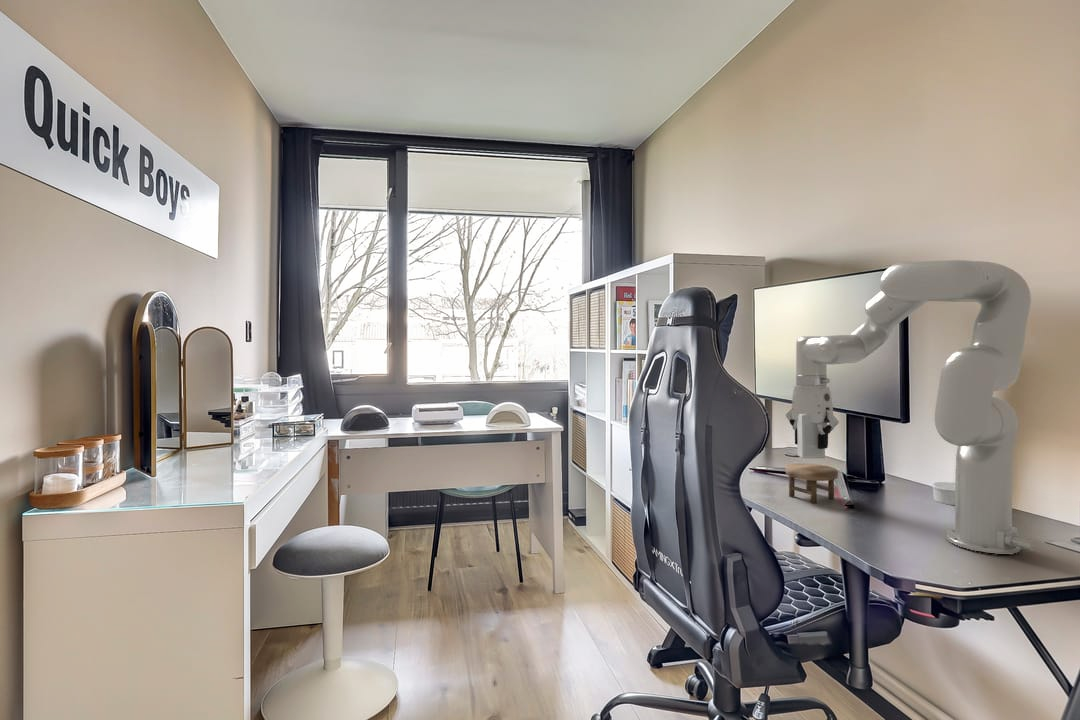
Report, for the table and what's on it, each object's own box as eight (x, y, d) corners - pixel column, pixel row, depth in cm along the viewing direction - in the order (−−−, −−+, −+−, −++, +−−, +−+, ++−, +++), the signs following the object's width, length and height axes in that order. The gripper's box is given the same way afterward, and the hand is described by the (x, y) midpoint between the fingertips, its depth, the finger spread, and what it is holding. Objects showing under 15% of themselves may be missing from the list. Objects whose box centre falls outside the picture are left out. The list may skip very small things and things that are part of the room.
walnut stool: (848, 499, 155) (848, 470, 155) (816, 507, 149) (816, 477, 149) (807, 488, 167) (806, 461, 166) (775, 495, 161) (775, 467, 161)
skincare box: (819, 455, 159) (819, 412, 159) (825, 458, 155) (825, 414, 155) (796, 455, 160) (796, 412, 159) (802, 458, 156) (802, 415, 155)
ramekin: (940, 506, 149) (940, 489, 148) (926, 496, 157) (926, 480, 157) (979, 507, 146) (980, 491, 146) (963, 497, 155) (963, 482, 155)
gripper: (849, 382, 150) (849, 450, 151) (793, 378, 166) (793, 439, 167) (830, 384, 147) (830, 453, 148) (775, 380, 163) (775, 442, 163)
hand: (811, 445), depth 157 cm, fingers closed on skincare box, 6 cm apart
